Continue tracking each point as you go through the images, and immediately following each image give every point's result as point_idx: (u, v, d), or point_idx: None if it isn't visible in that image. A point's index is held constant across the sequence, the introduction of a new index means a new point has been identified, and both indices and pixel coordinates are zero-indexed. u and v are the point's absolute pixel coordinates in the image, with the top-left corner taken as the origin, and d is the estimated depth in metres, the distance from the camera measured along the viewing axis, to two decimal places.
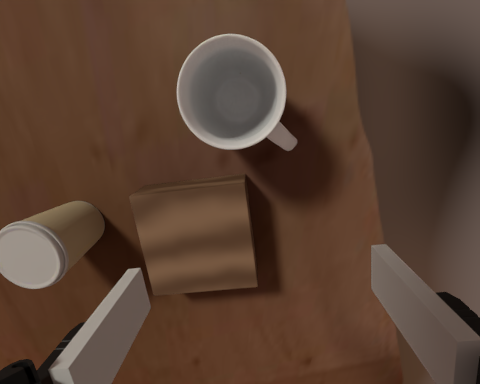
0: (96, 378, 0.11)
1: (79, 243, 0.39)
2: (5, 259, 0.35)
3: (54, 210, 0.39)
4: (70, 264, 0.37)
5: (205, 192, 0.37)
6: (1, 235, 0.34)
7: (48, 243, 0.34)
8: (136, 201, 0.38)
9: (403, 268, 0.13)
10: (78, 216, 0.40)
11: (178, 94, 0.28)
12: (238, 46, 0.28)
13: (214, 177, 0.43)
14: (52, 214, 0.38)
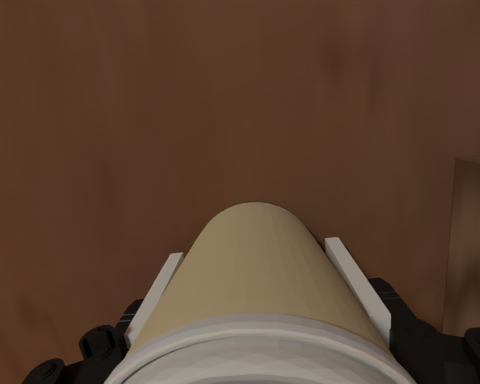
0: None
1: None
2: None
3: (262, 236, 0.11)
4: None
5: None
6: None
7: None
8: None
9: (346, 257, 0.14)
10: (322, 254, 0.12)
11: None
12: None
13: None
14: (286, 256, 0.10)
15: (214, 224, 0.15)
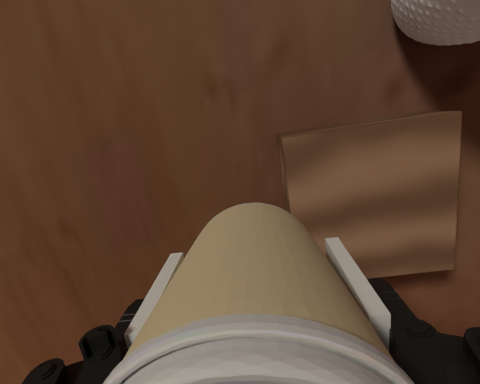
0: None
1: None
2: None
3: (261, 237, 0.11)
4: None
5: (399, 128, 0.25)
6: None
7: None
8: (292, 146, 0.26)
9: (345, 257, 0.14)
10: (321, 254, 0.12)
11: None
12: None
13: None
14: (285, 257, 0.10)
15: (213, 224, 0.15)
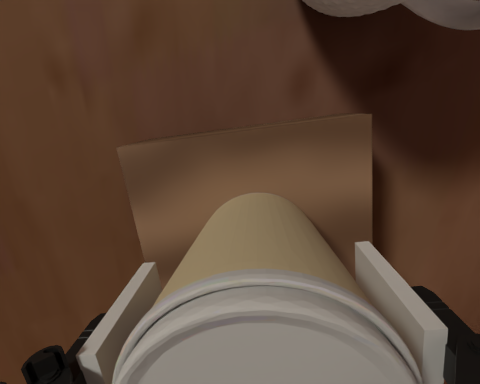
0: None
1: None
2: None
3: (268, 218, 0.12)
4: None
5: (282, 136, 0.17)
6: (171, 341, 0.07)
7: None
8: (132, 158, 0.18)
9: (382, 263, 0.13)
10: (321, 237, 0.14)
11: None
12: None
13: None
14: (290, 233, 0.11)
15: (223, 210, 0.16)
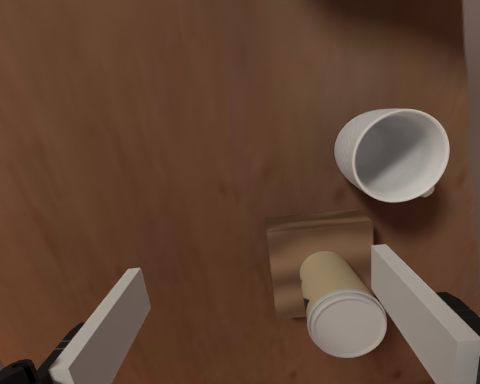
0: (96, 378, 0.11)
1: None
2: (324, 328, 0.33)
3: (339, 269, 0.37)
4: None
5: (336, 229, 0.42)
6: (330, 304, 0.32)
7: (379, 314, 0.32)
8: (272, 237, 0.43)
9: (403, 268, 0.13)
10: (355, 274, 0.39)
11: (354, 157, 0.32)
12: (404, 115, 0.32)
13: None
14: (349, 275, 0.36)
15: (315, 261, 0.41)
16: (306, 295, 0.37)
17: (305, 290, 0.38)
